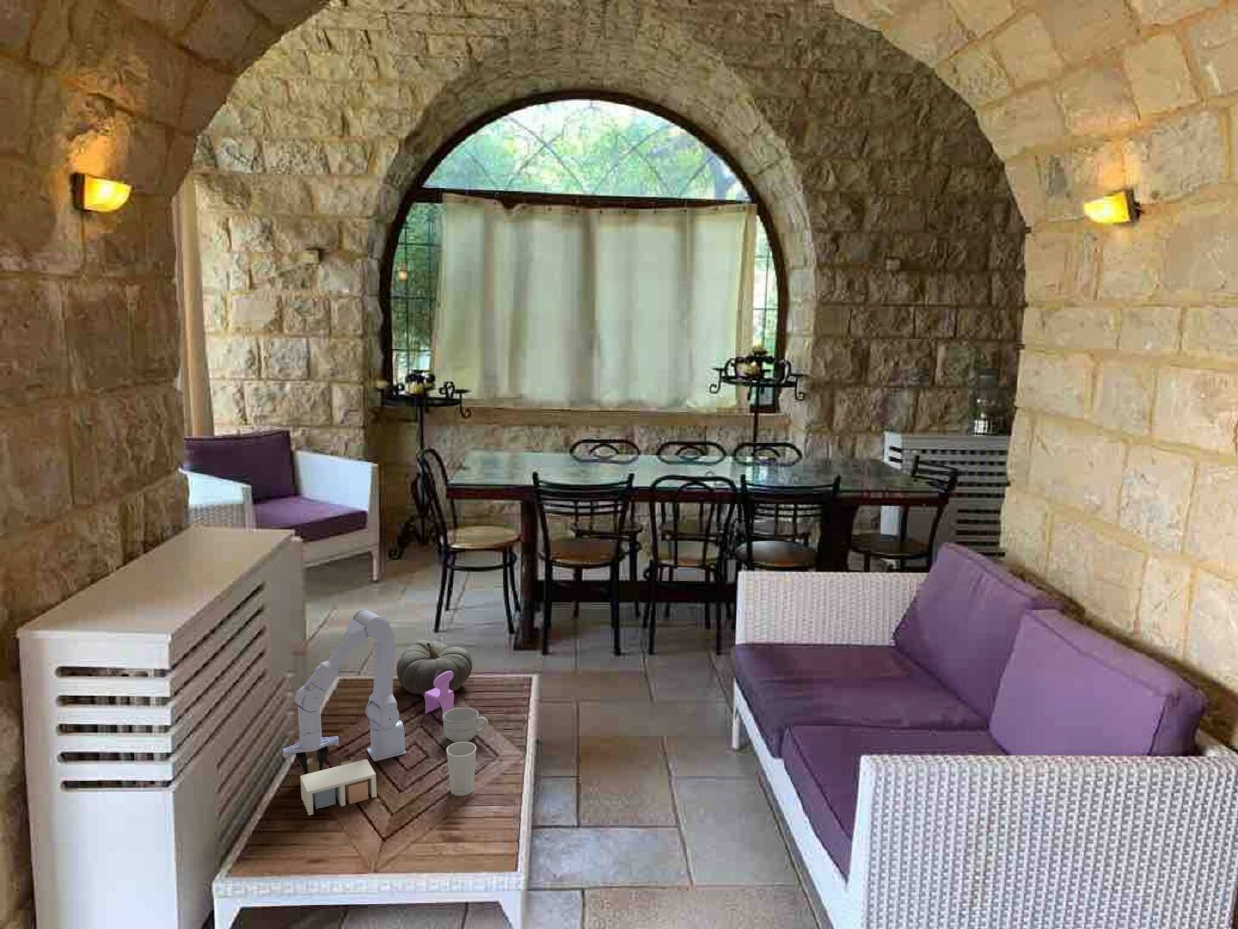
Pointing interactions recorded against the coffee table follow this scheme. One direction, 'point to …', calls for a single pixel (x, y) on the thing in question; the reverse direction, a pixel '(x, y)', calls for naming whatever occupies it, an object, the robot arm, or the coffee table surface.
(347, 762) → the tan block
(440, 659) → the gourd
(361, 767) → the shelf
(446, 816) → the coffee table surface
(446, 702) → the toy chair
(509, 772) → the coffee table surface
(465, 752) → the cup
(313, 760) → the tan and blue dumbbell
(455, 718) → the teacup
